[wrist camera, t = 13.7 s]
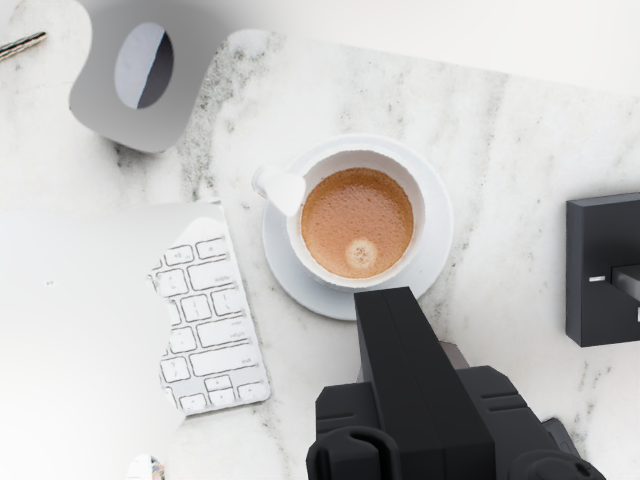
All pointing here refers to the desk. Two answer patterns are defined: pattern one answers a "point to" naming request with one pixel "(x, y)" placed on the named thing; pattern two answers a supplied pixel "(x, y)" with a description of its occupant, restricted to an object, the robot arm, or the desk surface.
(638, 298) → the stove knob
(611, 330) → the panel
